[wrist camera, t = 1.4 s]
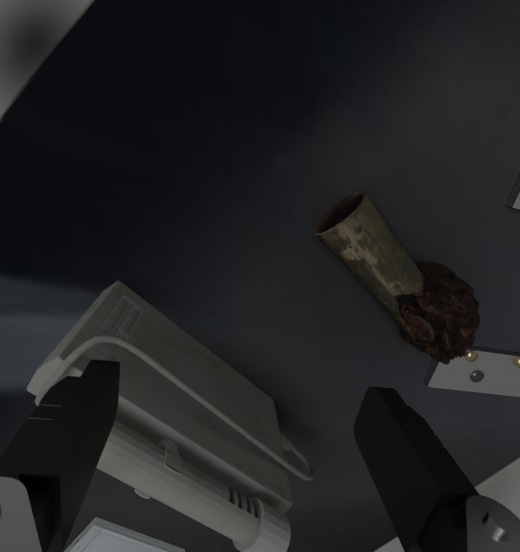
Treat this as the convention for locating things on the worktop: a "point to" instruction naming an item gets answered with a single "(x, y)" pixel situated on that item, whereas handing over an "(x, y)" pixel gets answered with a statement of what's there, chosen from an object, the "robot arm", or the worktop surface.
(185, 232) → the worktop surface
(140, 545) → the hard drive
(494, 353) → the hinge leaves
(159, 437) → the geiger counter
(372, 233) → the cylinder with dark lump
